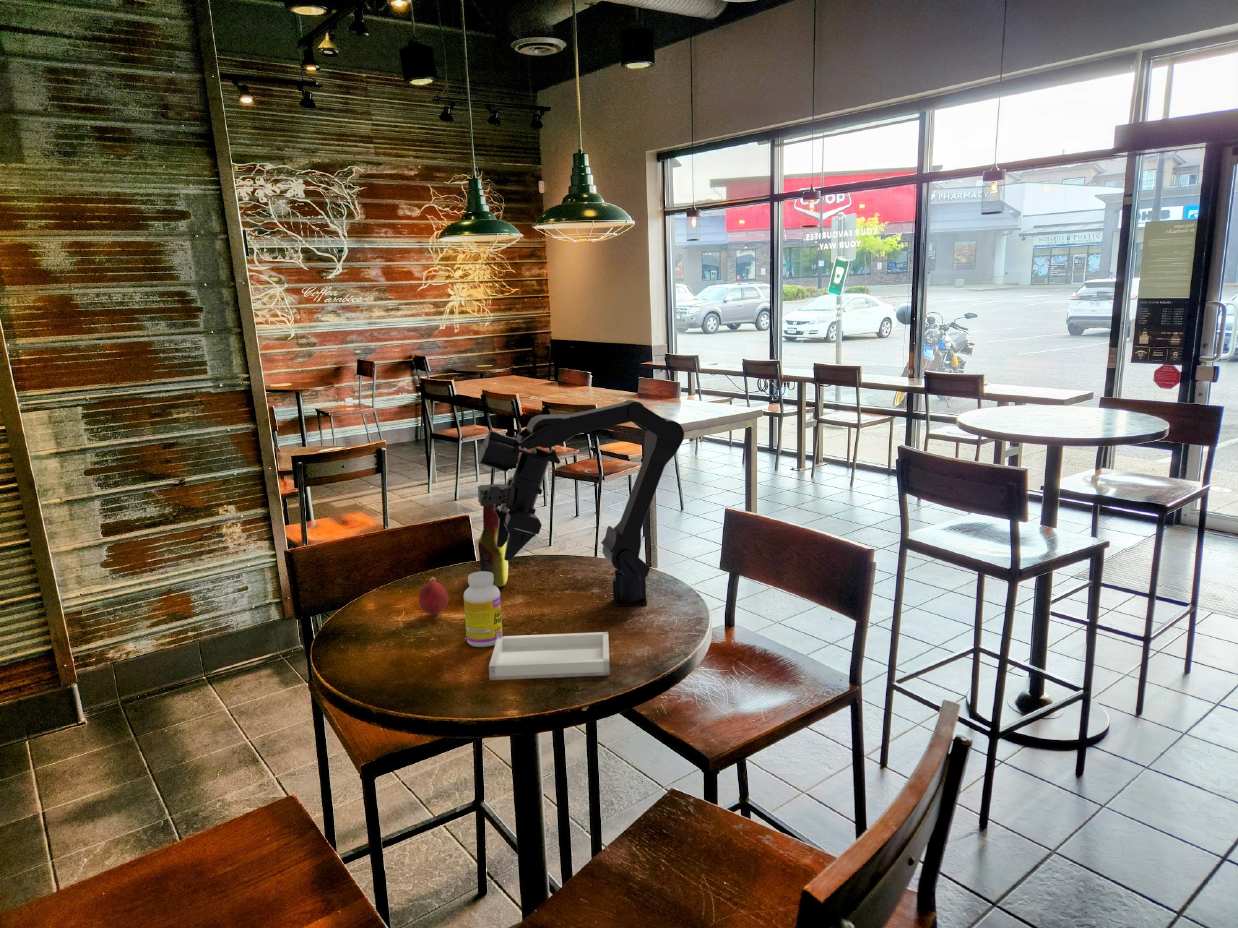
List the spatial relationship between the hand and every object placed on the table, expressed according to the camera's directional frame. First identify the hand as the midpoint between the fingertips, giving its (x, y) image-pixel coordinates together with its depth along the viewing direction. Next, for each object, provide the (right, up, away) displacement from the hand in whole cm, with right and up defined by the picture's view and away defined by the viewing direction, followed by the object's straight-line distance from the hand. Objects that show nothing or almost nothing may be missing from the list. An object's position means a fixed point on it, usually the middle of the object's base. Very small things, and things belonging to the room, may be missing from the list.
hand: (502, 553), depth 154 cm
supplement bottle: (-2, -16, -7) cm, 17 cm away
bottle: (-5, -9, +24) cm, 27 cm away
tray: (+11, -17, -17) cm, 26 cm away
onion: (-15, -13, +6) cm, 21 cm away
